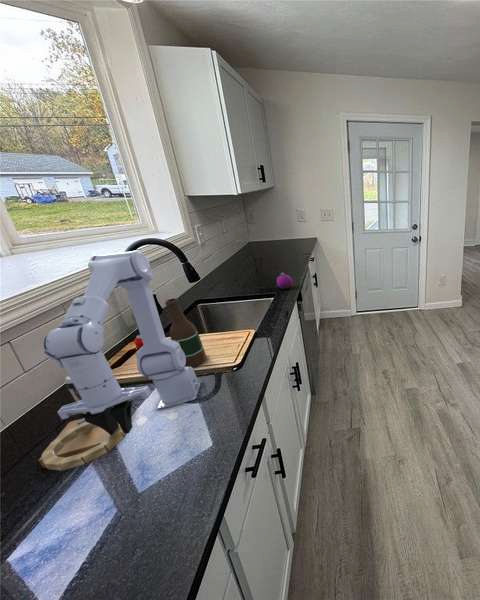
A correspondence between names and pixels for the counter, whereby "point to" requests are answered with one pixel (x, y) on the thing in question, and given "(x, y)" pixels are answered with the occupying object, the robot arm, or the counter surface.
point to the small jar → (73, 390)
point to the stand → (81, 440)
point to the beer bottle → (185, 335)
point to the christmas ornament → (284, 281)
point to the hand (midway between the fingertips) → (122, 431)
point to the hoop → (76, 460)
